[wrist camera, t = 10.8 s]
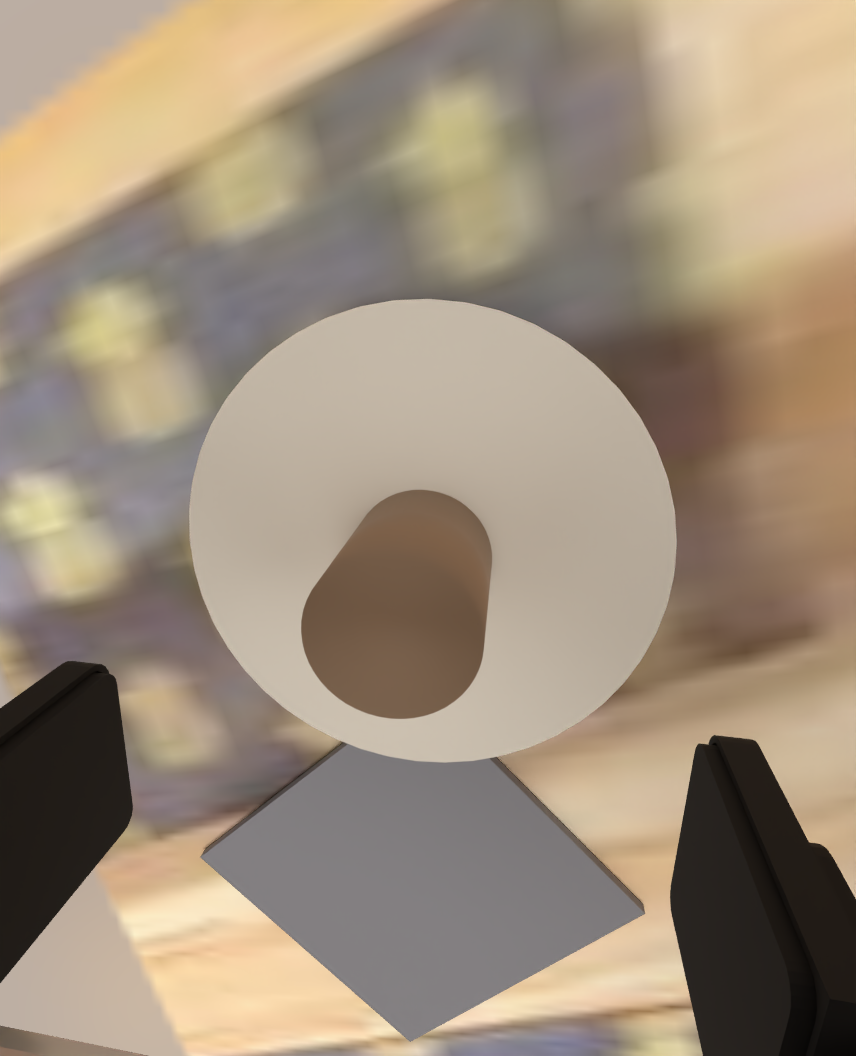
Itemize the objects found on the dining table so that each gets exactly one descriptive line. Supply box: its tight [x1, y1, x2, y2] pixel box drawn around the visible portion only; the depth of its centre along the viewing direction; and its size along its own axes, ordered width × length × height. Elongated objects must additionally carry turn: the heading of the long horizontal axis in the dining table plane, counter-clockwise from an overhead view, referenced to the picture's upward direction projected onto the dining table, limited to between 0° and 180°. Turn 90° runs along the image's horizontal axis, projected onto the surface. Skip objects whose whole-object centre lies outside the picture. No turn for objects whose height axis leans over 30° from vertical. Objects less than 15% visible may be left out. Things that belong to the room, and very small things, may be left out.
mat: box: [201, 742, 645, 1042], centre depth 31 cm, size 15×15×1 cm
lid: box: [189, 299, 677, 763], centre depth 17 cm, size 14×14×6 cm
